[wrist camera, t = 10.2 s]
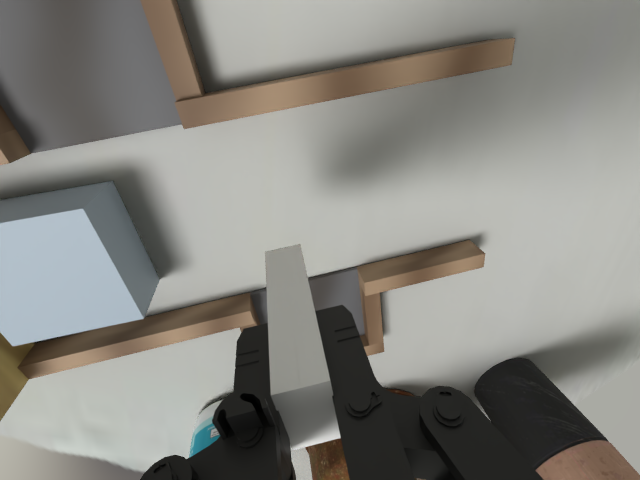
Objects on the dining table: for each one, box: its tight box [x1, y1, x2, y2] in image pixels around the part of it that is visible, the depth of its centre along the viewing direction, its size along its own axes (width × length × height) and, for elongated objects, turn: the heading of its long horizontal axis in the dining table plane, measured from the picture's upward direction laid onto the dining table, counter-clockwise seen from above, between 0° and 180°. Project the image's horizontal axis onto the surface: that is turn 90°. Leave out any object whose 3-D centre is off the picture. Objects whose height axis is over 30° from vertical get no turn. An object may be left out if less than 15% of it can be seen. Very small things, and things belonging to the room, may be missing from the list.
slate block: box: [0, 181, 160, 346], centre depth 18 cm, size 7×7×4 cm
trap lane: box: [0, 0, 515, 421], centre depth 18 cm, size 33×28×5 cm
